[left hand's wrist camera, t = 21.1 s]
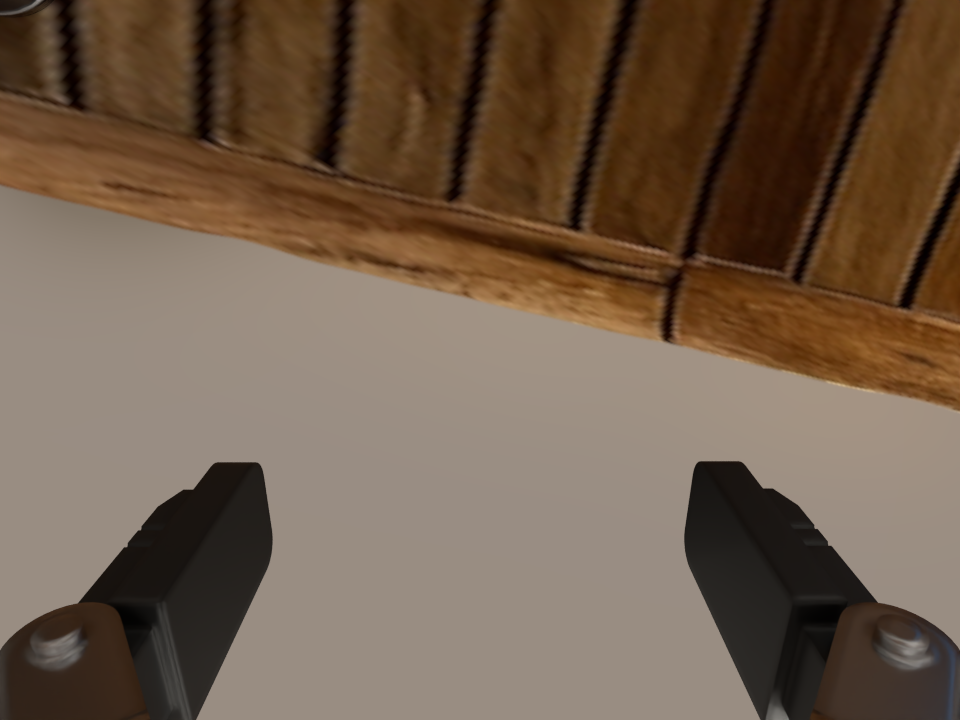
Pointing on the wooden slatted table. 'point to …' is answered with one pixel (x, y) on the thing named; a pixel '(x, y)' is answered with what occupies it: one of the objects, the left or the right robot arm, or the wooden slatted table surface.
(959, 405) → the wooden slatted table surface
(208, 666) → the left robot arm
